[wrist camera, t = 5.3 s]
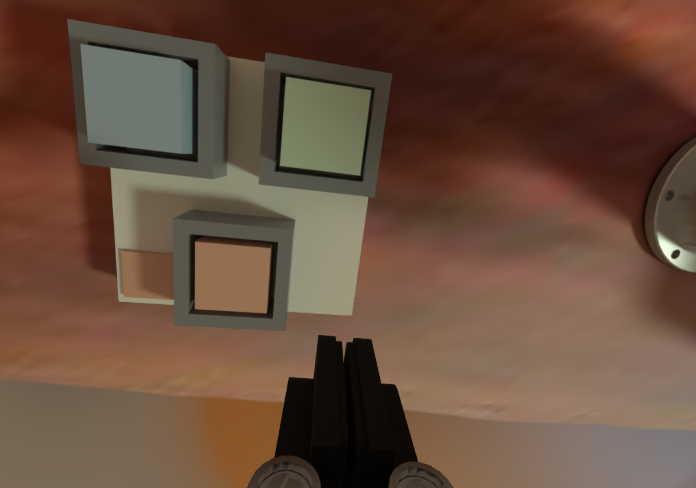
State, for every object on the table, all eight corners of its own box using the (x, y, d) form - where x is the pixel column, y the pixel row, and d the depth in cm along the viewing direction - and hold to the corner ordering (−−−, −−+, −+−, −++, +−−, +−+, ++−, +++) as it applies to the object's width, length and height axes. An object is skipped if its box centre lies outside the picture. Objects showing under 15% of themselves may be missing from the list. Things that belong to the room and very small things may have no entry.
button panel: (375, 90, 23) (396, 70, 17) (347, 298, 27) (357, 337, 21) (131, 51, 21) (61, 13, 15) (141, 284, 25) (89, 323, 19)
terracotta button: (275, 238, 21) (270, 248, 19) (271, 296, 22) (266, 313, 20) (207, 231, 21) (195, 241, 18) (207, 292, 22) (195, 309, 19)
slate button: (198, 72, 17) (180, 59, 15) (197, 153, 18) (181, 153, 16) (112, 59, 17) (80, 44, 14) (116, 143, 18) (88, 142, 15)
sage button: (363, 98, 18) (371, 90, 16) (354, 172, 20) (360, 175, 17) (289, 86, 18) (285, 76, 16) (283, 164, 19) (280, 165, 17)
